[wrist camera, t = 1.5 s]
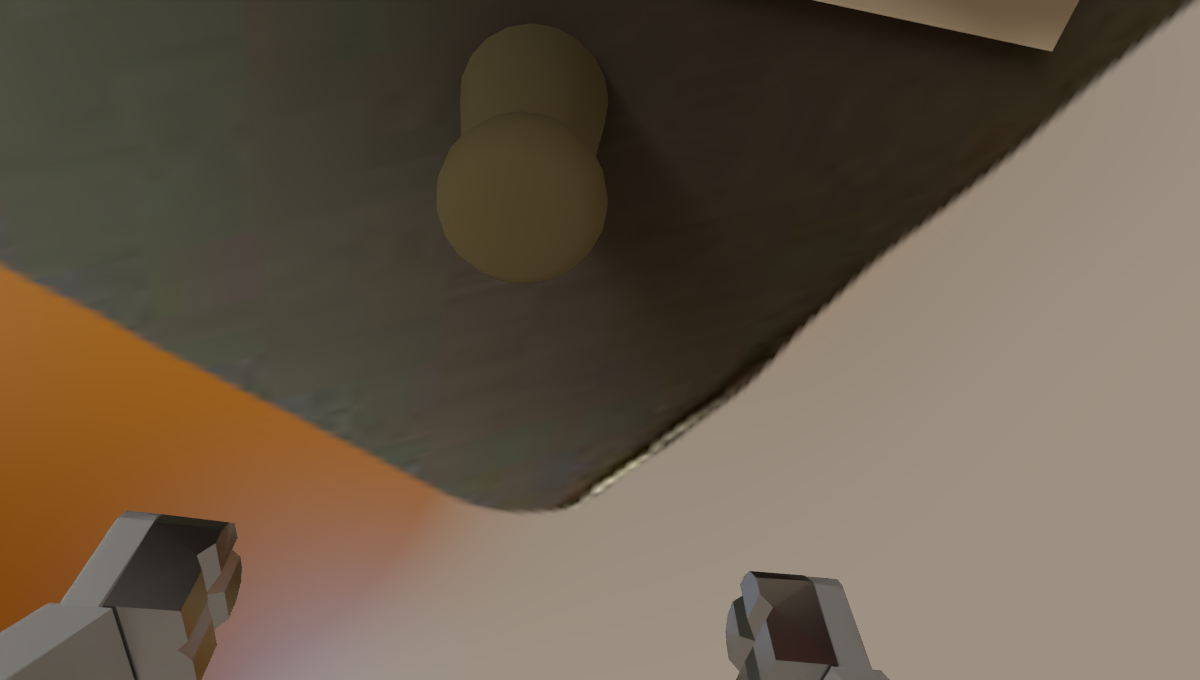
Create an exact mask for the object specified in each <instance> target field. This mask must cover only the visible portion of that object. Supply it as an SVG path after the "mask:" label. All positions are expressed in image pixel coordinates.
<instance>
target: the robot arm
mask: <svg viewBox="0 0 1200 680" xmlns="http://www.w3.org/2000/svg"><path fill="white" fill-rule="evenodd" d="M237 538H238V537H237V533H236V528H235V524H234V523H229V522H220V521H212V520H204V519H196V518H188V517H180V516H171V515H163V514H153V513H144V512H135V511H126V512H125V513H124V514H123V515H121V516H120V517H119V518H118V519H116V521H115V522H114V524H113V525H112V527H111V528H110V530H109V531H108V533H107V534H106V536H105V537H104V539H103V540H102V542H101V543H100V545H99V546H98V547H97V549H96V551H95V552H94V554H93V555H92V556H91V558H90V559H89V561H88V563H87V564H86V565H85V567H84V568H83V570H82V571H81V573H80V574H79V576H78V577H77V579H76V580H75V582H74V583H73V585H72V586H71V588H70V589H69V591H68V592H67V594H66V595H65V597H64V598H63V599H62V601H61V602H60V603H48V604H46V605H45V606H43V607H41V608H40V609H38V610H36V611H35V612H33V613H32V614H30V615H28V616H27V617H25V618H24V619H22V620H20V621H19V622H17V623H15V624H14V625H12V626H10V627H9V628H7V629H6V630H4V631H2V632H1V633H0V680H201V679H202V677H203V675H204V673H205V670H206V668H207V666H208V664H209V661H210V659H211V657H212V655H213V653H214V650H215V648H216V646H217V643H216V638H215V632H214V629H215V628H216V627H218V626H219V625H220V624H222V623H223V622H224V621H226V620H227V619H228V618H229V616H230V614H231V612H232V609H233V607H234V605H235V602H236V599H237V595H238V591H239V588H240V584H241V573H242V565H241V558H240V556H239V555H238V554H237V553H235V552H234V551H233V550H232V549H233V546H234V544H235V542H236V540H237ZM741 590H742V595H743V596H742V597H740V598H738V599H736V600H735V601H733V603H732V605H731V608H730V610H729V613H728V618H727V627H726V643H727V650H728V656H729V660H730V661H731V662H732V663H733V664H734V665H735V667H736V668H737V669H738V670H739V671H740V673H739V675H738V677H737V679H736V680H889V679H888V678H887V677H886V676H885V675H884V674H883V672H882V671H879V670H872V668H871V665H870V662H869V659H868V657H867V654H866V651H865V648H864V645H863V643H862V640H861V637H860V634H859V631H858V629H857V626H856V623H855V620H854V618H853V615H852V612H851V609H850V606H849V604H848V601H847V598H846V595H845V592H844V589H843V587H842V585H841V584H840V582H839V581H838V580H837V579H828V578H817V577H806V576H803V575H790V574H778V573H766V572H753V571H750V572H748V573H747V574H746V575H745V576H744V578H743V580H742V582H741Z"/></svg>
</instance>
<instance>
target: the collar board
mask: <svg viewBox="0 0 1200 680" xmlns="http://www.w3.org/2000/svg"><path fill="white" fill-rule="evenodd" d="M815 1H819V2H824V3H828V4H833V5H838V6H842V7H847V8H852V9H856V10H861V11H866V12H870V13H875V14H880V15H884V16H889V17H894V18H898V19H903V20H907V21H912V22H917V23H921V24H926V25H931V26H935V27H940V28H945V29H949V30H954V31H959V32H963V33H968V34H972V35H977V36H982V37H986V38H991V39H996V40H1000V41H1005V42H1010V43H1014V44H1019V45H1024V46H1028V47H1033V48H1037V49H1042V50H1047V51H1051V52H1052V51H1053V49H1054V47H1055V45H1056V43H1057V41H1058V39H1059V37H1060V36H1061V34H1062V32H1063V30H1064V28H1065V26H1066V24H1067V22H1068V21H1069V19H1070V17H1071V15H1072V13H1073V11H1074V9H1075V7H1076V5H1077V4H1078V2H1079V0H815Z"/></svg>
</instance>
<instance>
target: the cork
mask: <svg viewBox="0 0 1200 680" xmlns="http://www.w3.org/2000/svg"><path fill="white" fill-rule="evenodd" d="M608 103H609V100H608V93H607V86H606V79H605V77H604V75H603V72H602V70H601V68H600V66H599V64H598V62H597V60H596V58H595V56H594V55H593V54H592V53H591V52H590V51H589V50H588V49H587V48H586V47H585V46H584V45H583V44H582V43H581V42H580V41H579V40H578V39H577V38H575V37H573V36H571V35H569V34H568V33H566V32H564V31H562V30H560V29H558V28H556V27H551V26H546V25H540V24H534V23H529V24H523V25H517V26H511V27H506V28H505V29H503V30H501V31H499V32H497V33H496V34H494V35H492V36H490V37H488V38H486V39H485V41H484V42H483V43H482V44H481V45H480V46H479V47H478V48H477V50H476V51H475V52H474V53H473V54H472V55H471V56H470V59H469V61H468V63H467V66H466V68H465V71H464V73H463V76H462V78H461V93H460V119H461V137H460V138H459V139H458V140H457V141H456V143H455V144H454V145H453V146H452V147H451V148H450V150H449V152H448V154H447V157H446V159H445V161H444V164H443V166H442V169H441V171H440V173H439V176H438V178H437V194H436V206H437V211H438V215H439V218H440V221H441V225H442V228H443V231H444V235H445V236H446V238H447V239H448V241H449V242H450V244H451V245H452V246H453V248H454V249H455V251H456V252H457V254H458V255H459V256H460V257H462V258H463V259H464V260H465V261H467V262H468V263H469V264H470V265H472V266H473V267H474V268H475V269H477V270H478V271H480V272H483V273H485V274H487V275H490V276H492V277H495V278H497V279H499V280H502V281H510V282H517V283H530V282H537V281H544V280H550V279H552V278H554V277H556V276H559V275H561V274H563V273H565V272H568V271H570V270H571V269H573V268H574V267H575V266H576V265H577V264H578V263H579V262H581V261H582V260H583V259H584V258H585V257H586V256H587V255H589V253H590V251H591V249H592V248H593V246H594V244H595V243H596V241H597V239H598V237H599V236H600V234H601V232H602V230H603V228H604V222H605V217H606V212H607V207H608V199H607V192H606V186H605V179H604V172H603V170H602V168H601V166H600V164H599V162H598V160H597V158H596V155H597V151H598V147H599V144H600V140H601V136H602V133H603V129H604V125H605V120H606V115H607V109H608Z"/></svg>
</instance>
